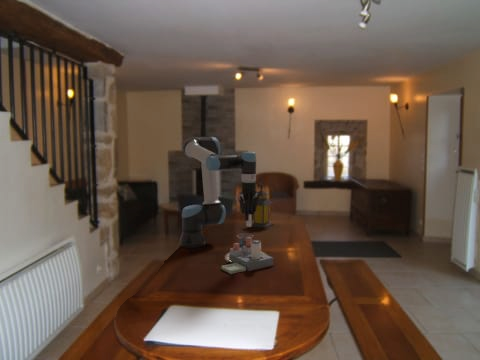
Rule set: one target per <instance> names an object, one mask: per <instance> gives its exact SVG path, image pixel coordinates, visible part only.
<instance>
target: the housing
mask: <svg viewBox="0 0 480 360" xmlns="http://www.w3.org/2000/svg"><path fill="white" fill-rule="evenodd" d="M229 260H231V261H232V262H233V263H237V264H240V265H242V266H244V267H246V271H248V272H250V271H253V270H258V269H259V270H260V269H263V268H264V269H265V268H267V267H272V266H274V257H272V256H270V255H268V254H265V253H263V252H261V259H259V260H252V259H251V247H246V246H243V251H242V249H241V248H239V250H233V247H231V248H229V253H228V261H229ZM233 263H232V264H233Z"/></svg>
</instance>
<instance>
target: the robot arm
mask: <svg viewBox="0 0 480 360" xmlns="http://www.w3.org/2000/svg"><path fill="white" fill-rule="evenodd" d="M181 149H182V152H183V154H184V155H185V156H187V157H188V158H190V159H191V158H194V159H196V160H198V161H199V162H200V164H201V175H202V187H203V188H202V189H203V197H204V198H203V200H204V201H203V202H202V204H192V205H188V206H185V207H183V208H182V211H181V220H182V221H181V225H182V231H181V232H182V233H181V236H180V239H179V246H180V247H182V248H187V249H188V248H189V249H195V248H196V249H197V248H201V247H204V246H205V245H206V240H205V237H204V233H203V227H206V226H207V227H208V226H216V225H220V224H222V223H224V220H226V214H227V213H226V212H227V210H226V208H225V206H224V204H222V202H221V200H219V191H218V182H217V181H218V180H217V171H225V170H226V171H228V170H231V171H232V170H241V194H240V195H237V199H238V201H239V206H240V210H241V213H242V214H244V220H245V226H246V227H249V228H251V227H252V225H251V223H252V220H254V212H256V208H257V203H258V198H259V196H260V194H257V193H258V192H257V191H256V190H257V182H256V181H257V155H256V152H255V151H242V152H241V154H233V155H220V154H221V153H220V152H221V144H220V140H218V139H217V138H216V137H215V136H192V137H188V138H186V139H185V141H183V143H182V147H181Z"/></svg>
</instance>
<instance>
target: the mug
mask: <svg viewBox="0 0 480 360" xmlns="http://www.w3.org/2000/svg"><path fill="white" fill-rule="evenodd" d="M246 237H251V238H252V240H254V239H253V238H254V235H253V234H252V233H238V234H236V238H237V241H238V243H239V248H241V249H242V251H243V246H246Z"/></svg>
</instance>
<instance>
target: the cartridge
mask: <svg viewBox="0 0 480 360" xmlns="http://www.w3.org/2000/svg"><path fill="white" fill-rule="evenodd" d="M261 253H262V242H261V240H258V239H257V240H256V239H255V240H254V239H252V242H251V259H252V260H259V259H261Z"/></svg>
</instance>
